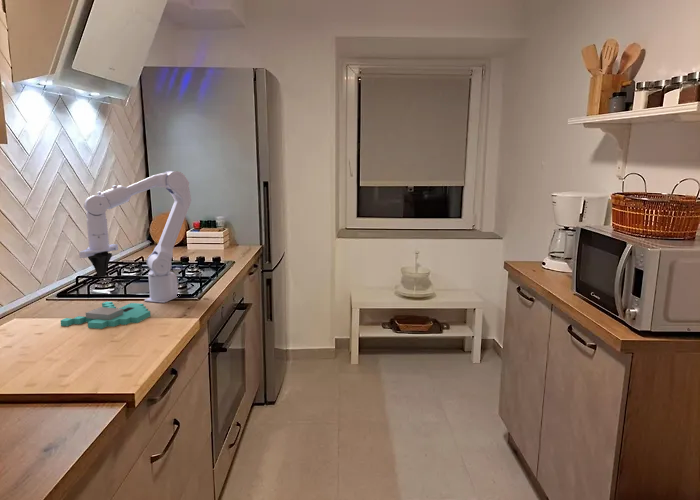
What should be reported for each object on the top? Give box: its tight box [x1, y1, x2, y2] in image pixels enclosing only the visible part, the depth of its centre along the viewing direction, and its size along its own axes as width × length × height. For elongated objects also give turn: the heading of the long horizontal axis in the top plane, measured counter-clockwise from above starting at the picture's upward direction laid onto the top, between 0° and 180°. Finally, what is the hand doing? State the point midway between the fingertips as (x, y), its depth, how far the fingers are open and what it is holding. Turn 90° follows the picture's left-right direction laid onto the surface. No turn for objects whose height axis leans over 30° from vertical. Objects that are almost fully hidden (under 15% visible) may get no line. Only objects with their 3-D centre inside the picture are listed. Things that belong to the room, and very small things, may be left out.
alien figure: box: [60, 301, 152, 330], centre depth 152 cm, size 20×2×20 cm
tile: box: [85, 306, 123, 320], centre depth 148 cm, size 2×8×6 cm
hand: (101, 276), depth 160 cm, fingers closed
